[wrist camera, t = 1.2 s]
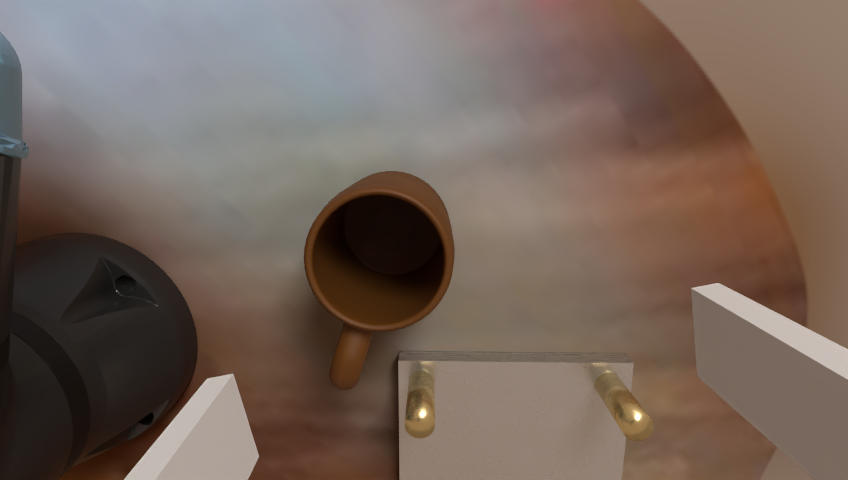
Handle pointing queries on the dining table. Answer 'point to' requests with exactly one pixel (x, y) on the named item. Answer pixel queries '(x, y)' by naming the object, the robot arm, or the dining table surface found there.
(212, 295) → the dining table surface
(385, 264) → the mug
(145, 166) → the dining table surface
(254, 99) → the dining table surface
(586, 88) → the dining table surface
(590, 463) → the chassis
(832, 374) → the robot arm
